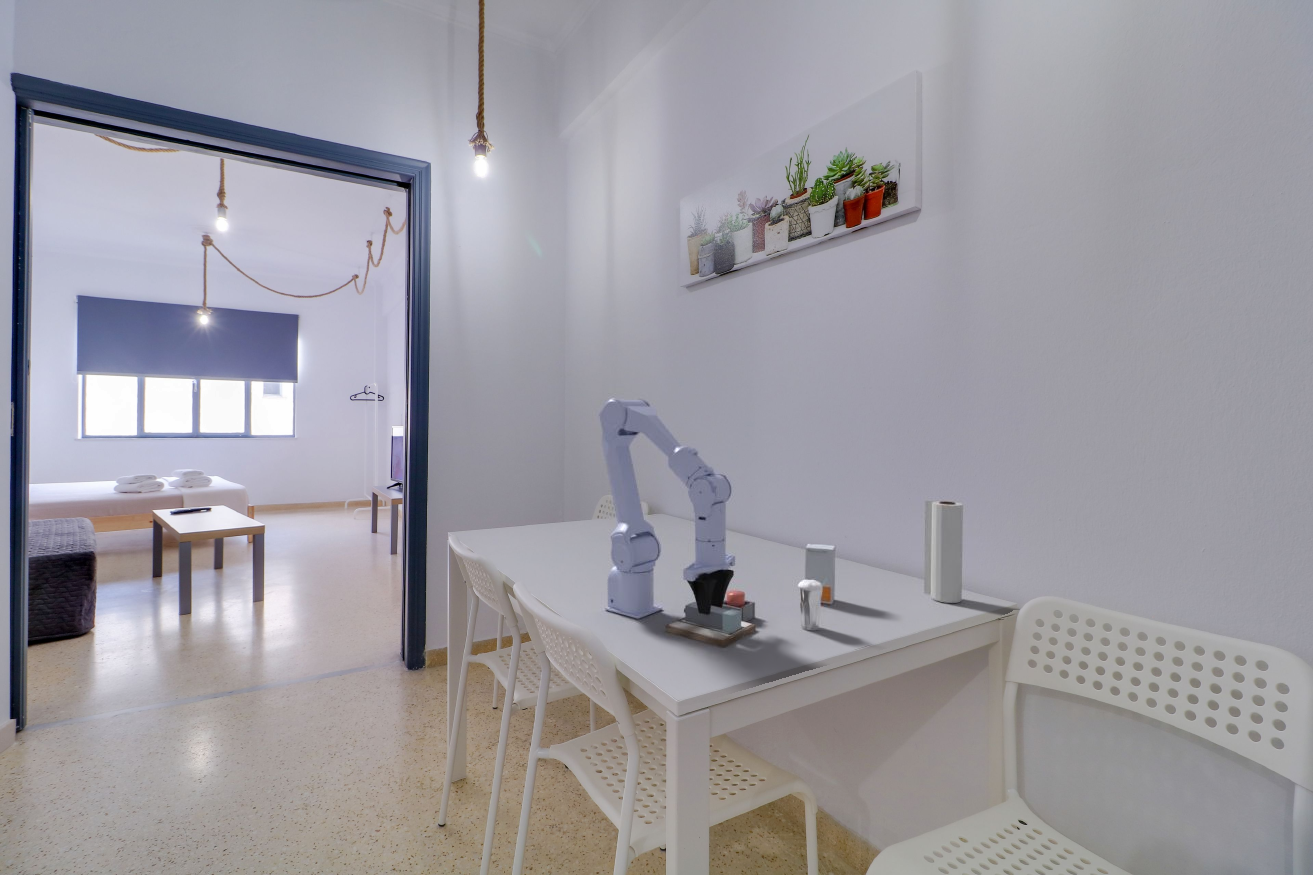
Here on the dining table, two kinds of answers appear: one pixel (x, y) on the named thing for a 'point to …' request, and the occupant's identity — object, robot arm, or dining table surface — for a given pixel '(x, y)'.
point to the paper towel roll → (943, 550)
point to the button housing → (743, 610)
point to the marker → (714, 617)
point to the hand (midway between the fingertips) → (710, 610)
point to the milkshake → (810, 603)
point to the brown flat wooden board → (708, 632)
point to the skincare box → (821, 569)
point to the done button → (736, 598)
